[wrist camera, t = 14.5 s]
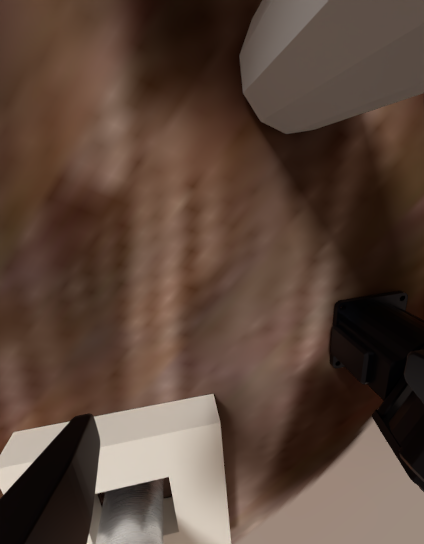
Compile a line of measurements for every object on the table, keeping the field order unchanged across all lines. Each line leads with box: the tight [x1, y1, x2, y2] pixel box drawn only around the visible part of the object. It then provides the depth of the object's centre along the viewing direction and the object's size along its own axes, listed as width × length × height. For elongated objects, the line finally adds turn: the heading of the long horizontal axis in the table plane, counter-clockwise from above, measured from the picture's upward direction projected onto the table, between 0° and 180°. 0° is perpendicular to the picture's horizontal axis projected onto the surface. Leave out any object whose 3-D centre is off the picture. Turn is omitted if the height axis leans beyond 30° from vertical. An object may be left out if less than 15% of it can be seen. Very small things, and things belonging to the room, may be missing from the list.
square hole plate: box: [0, 394, 231, 544], centre depth 24 cm, size 16×16×3 cm
